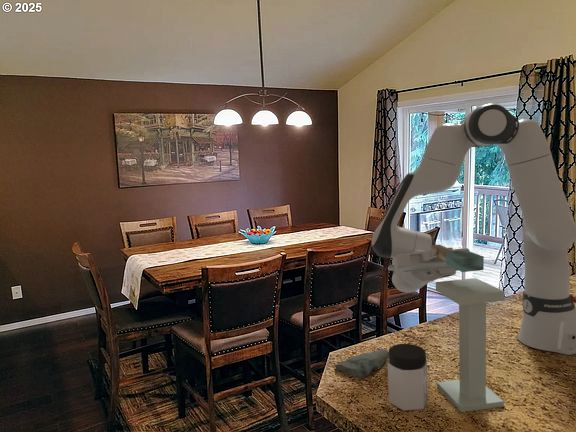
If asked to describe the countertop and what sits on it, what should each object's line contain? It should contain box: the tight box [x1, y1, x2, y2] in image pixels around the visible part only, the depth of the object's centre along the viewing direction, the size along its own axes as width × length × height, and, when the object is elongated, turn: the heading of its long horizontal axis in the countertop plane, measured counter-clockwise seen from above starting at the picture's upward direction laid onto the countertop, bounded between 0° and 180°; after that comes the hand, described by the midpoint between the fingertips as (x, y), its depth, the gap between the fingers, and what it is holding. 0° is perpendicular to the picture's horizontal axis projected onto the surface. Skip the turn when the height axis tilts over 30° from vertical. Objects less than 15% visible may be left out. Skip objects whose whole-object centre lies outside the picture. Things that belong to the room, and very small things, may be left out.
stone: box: [335, 348, 389, 379], centre depth 121 cm, size 17×3×10 cm
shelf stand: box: [435, 277, 506, 413], centre depth 101 cm, size 10×11×26 cm
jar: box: [387, 343, 429, 411], centre depth 102 cm, size 9×8×12 cm
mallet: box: [431, 244, 485, 273], centre depth 106 cm, size 5×18×3 cm, turn 8°
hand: (443, 251), depth 110 cm, fingers closed on mallet, 2 cm apart
